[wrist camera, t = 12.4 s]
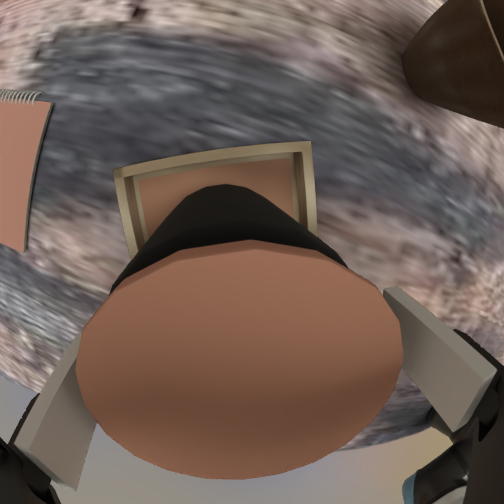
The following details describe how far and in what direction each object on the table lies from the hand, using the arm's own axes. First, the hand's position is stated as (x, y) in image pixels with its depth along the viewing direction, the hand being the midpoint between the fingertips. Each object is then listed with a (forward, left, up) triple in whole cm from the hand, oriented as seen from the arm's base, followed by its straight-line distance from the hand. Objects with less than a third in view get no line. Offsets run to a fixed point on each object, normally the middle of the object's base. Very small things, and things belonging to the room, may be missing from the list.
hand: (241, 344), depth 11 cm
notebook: (+16, +30, -16) cm, 38 cm away
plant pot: (+17, -25, -16) cm, 34 cm away
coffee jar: (0, 0, -14) cm, 14 cm away
